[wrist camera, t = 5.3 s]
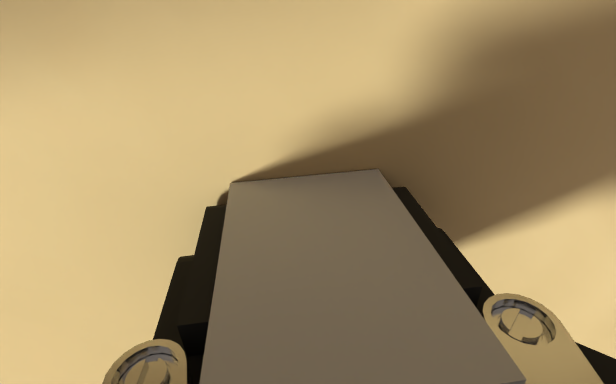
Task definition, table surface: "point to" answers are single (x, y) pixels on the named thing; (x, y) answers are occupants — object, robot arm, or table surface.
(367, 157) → the table surface
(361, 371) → the cube-ended rod
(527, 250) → the table surface
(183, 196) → the table surface
